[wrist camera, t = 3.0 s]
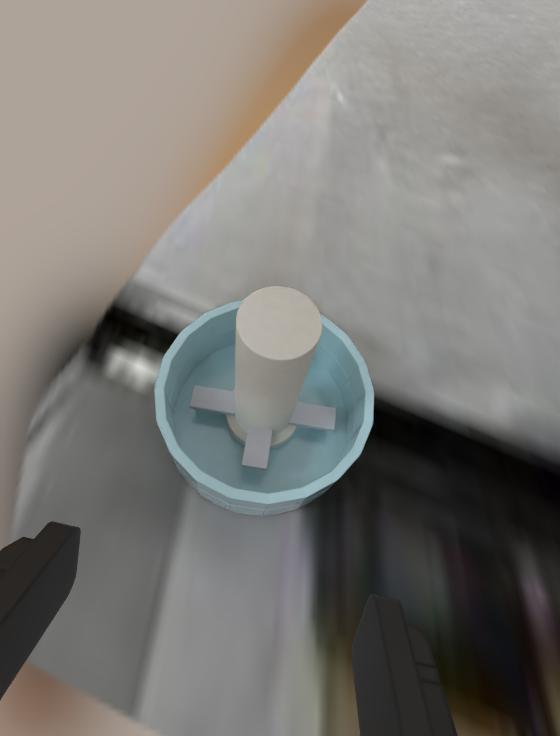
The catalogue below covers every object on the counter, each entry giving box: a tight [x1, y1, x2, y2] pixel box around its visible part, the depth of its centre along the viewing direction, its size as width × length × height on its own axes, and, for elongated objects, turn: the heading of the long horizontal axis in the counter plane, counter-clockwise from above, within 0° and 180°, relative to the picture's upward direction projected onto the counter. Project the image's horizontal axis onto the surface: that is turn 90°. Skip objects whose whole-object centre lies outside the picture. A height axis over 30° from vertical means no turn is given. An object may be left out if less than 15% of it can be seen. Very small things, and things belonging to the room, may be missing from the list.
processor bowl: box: [154, 300, 374, 516], centre depth 30 cm, size 14×14×6 cm
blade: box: [189, 286, 336, 470], centre depth 26 cm, size 10×9×13 cm
